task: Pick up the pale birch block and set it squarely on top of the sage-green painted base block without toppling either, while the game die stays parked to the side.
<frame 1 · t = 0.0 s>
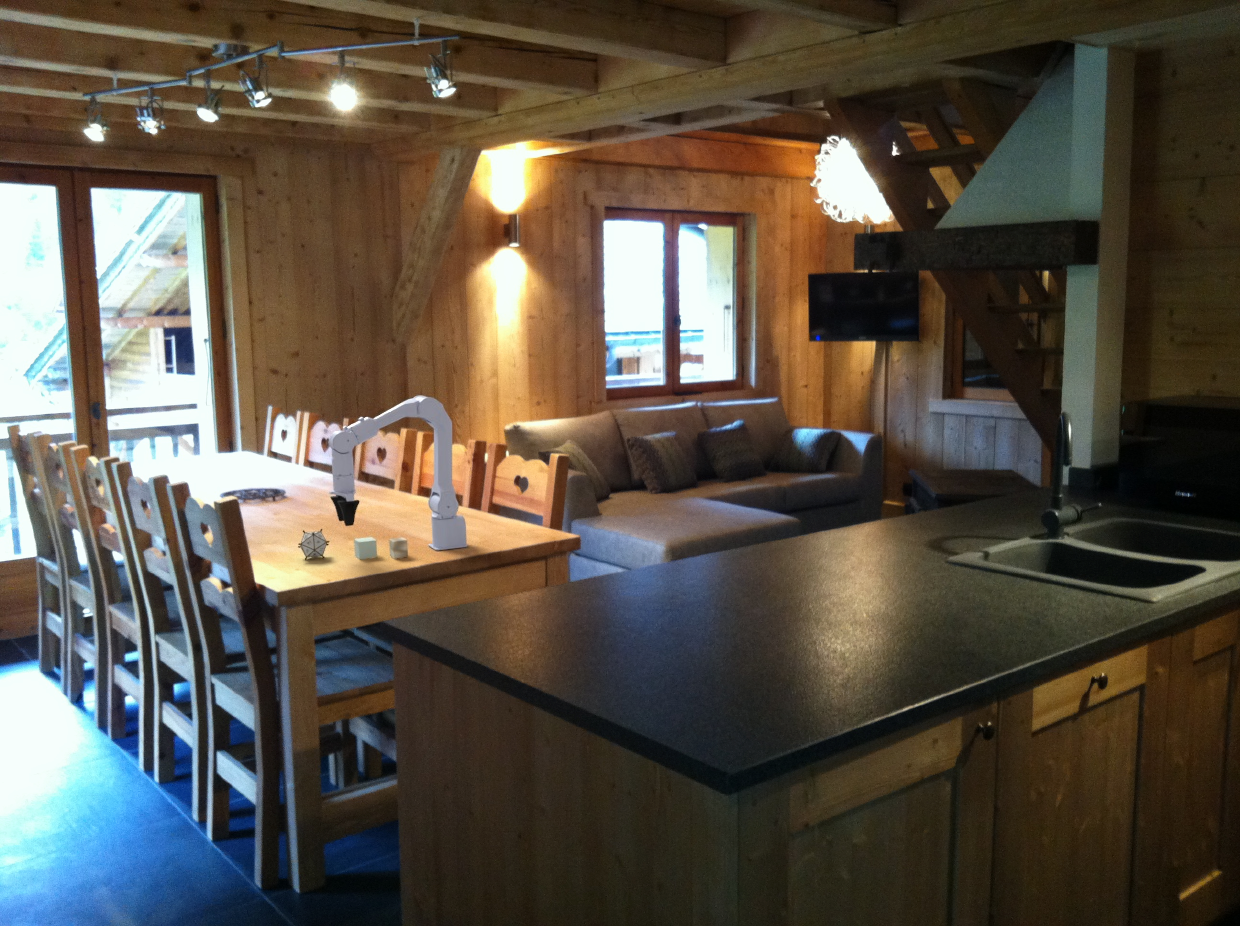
hand: (346, 523, 300), 10 cm above the table, tool pointing down, fingers open, 7 cm apart
base block: (366, 557, 303), on the table
game die: (314, 558, 303), on the table
birch block: (399, 557, 302), on the table
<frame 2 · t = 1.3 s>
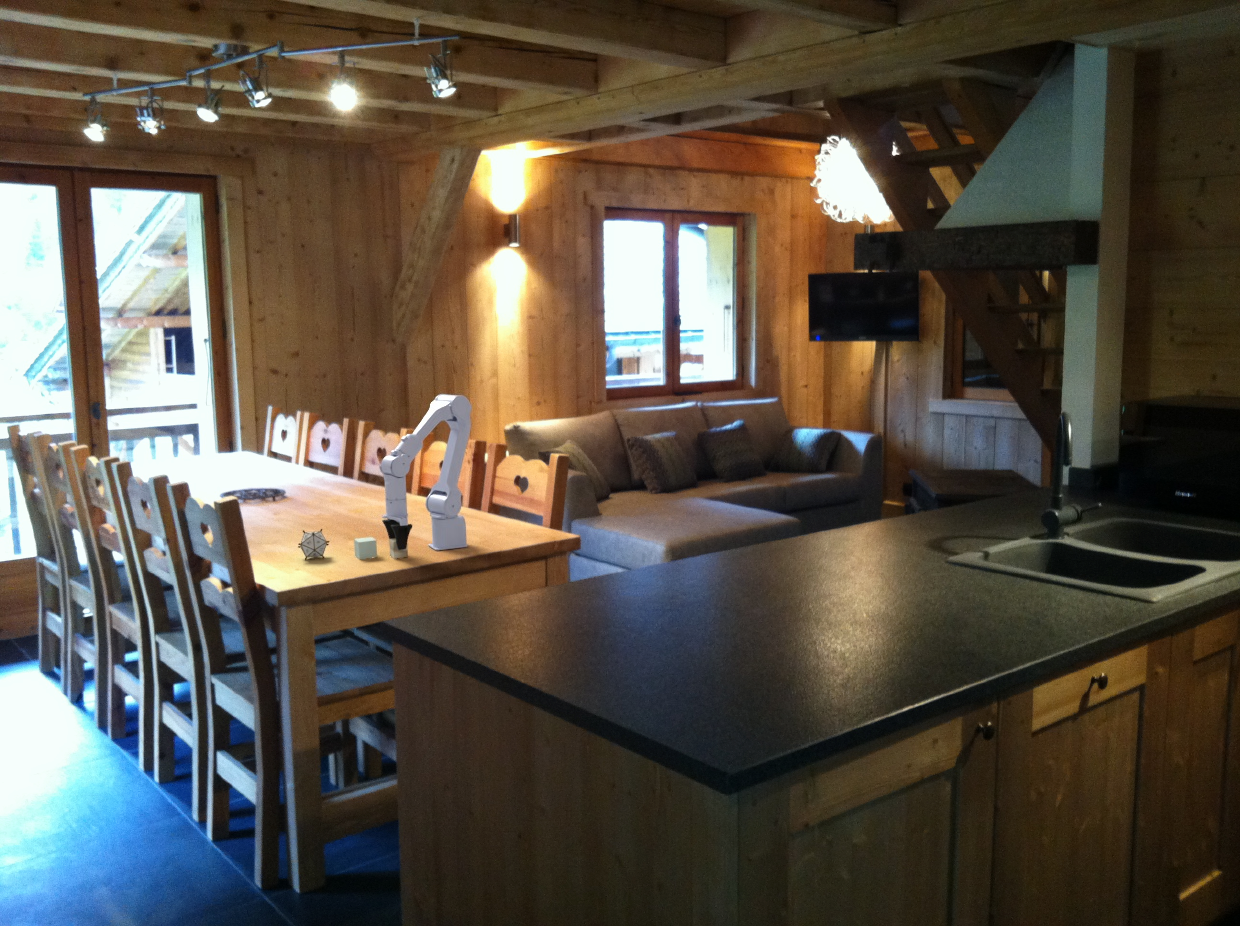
hand: (398, 546, 302), 3 cm above the table, tool pointing down, fingers open, 7 cm apart
nothing on the table moved.
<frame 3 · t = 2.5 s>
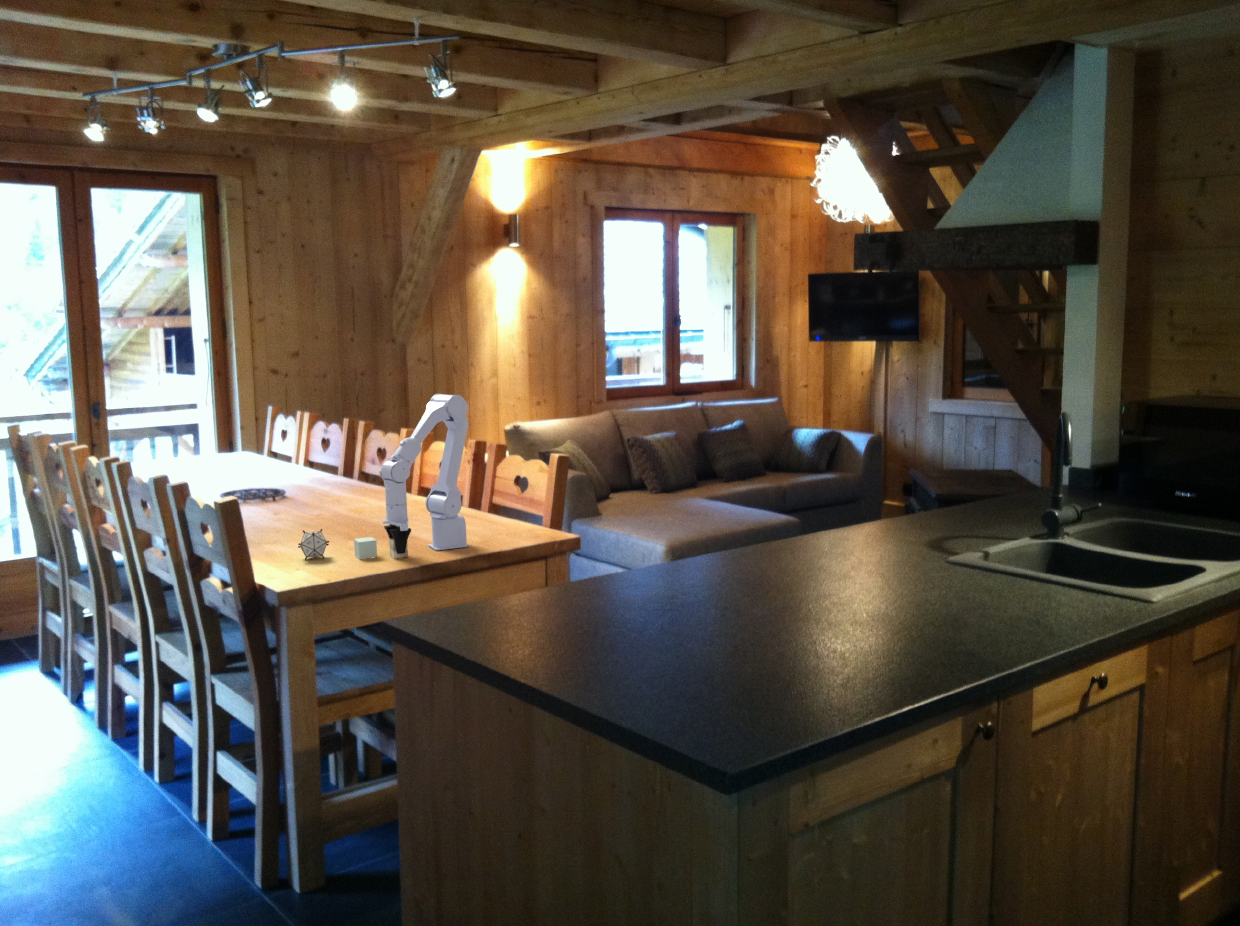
hand: (398, 551, 302), 1 cm above the table, tool pointing down, fingers closed on birch block, 4 cm apart
birch block: (399, 556, 302), on the table, touching gripper
everything else where it was.
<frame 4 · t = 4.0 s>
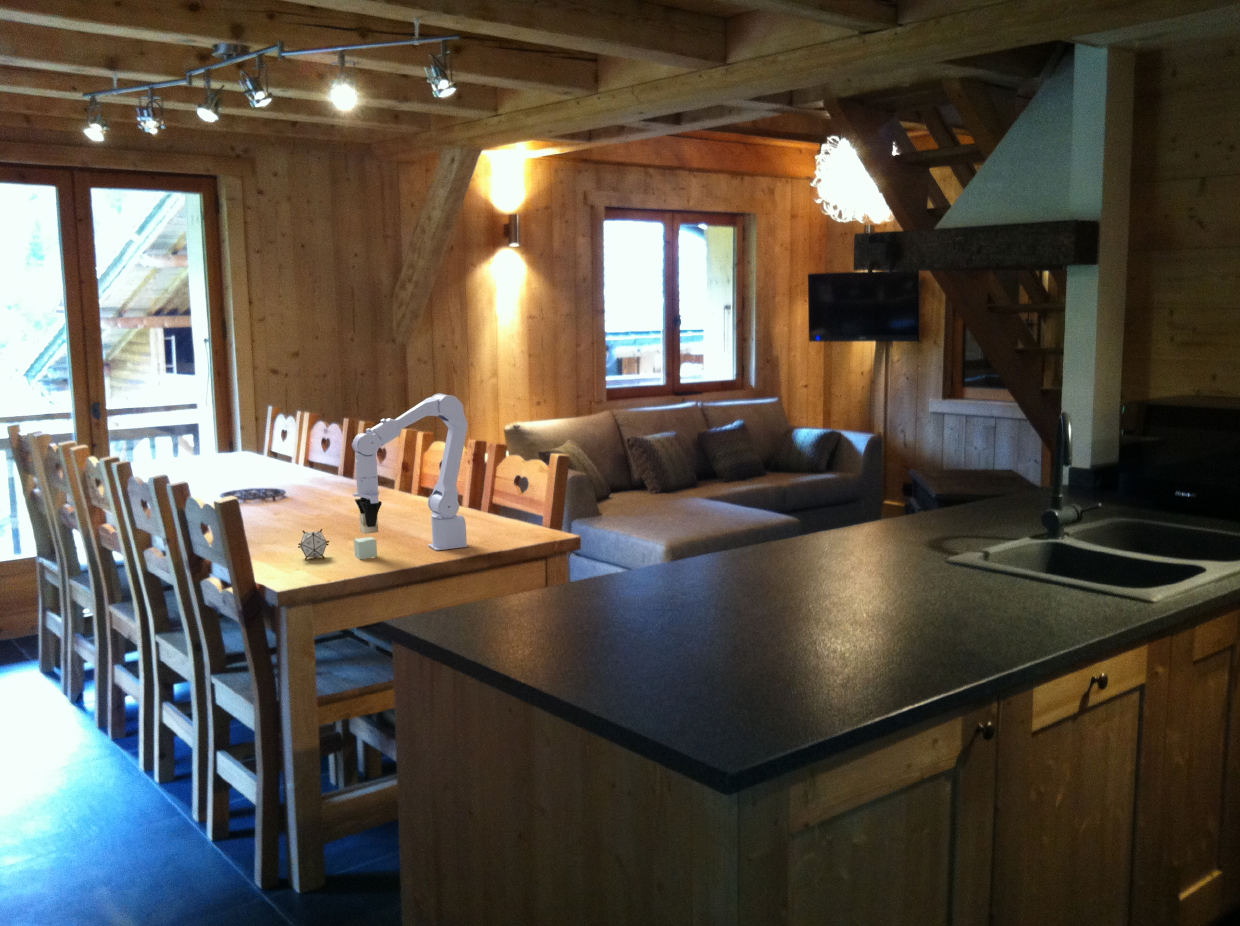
hand: (369, 525, 302), 9 cm above the table, tool pointing down, fingers closed on birch block, 4 cm apart
birch block: (369, 531, 302), point 7 cm above the table, touching gripper
everything else where it was.
when the fingers open (7 cm above the table, at t = 5.3 s): birch block stays where it is, resting on base block.
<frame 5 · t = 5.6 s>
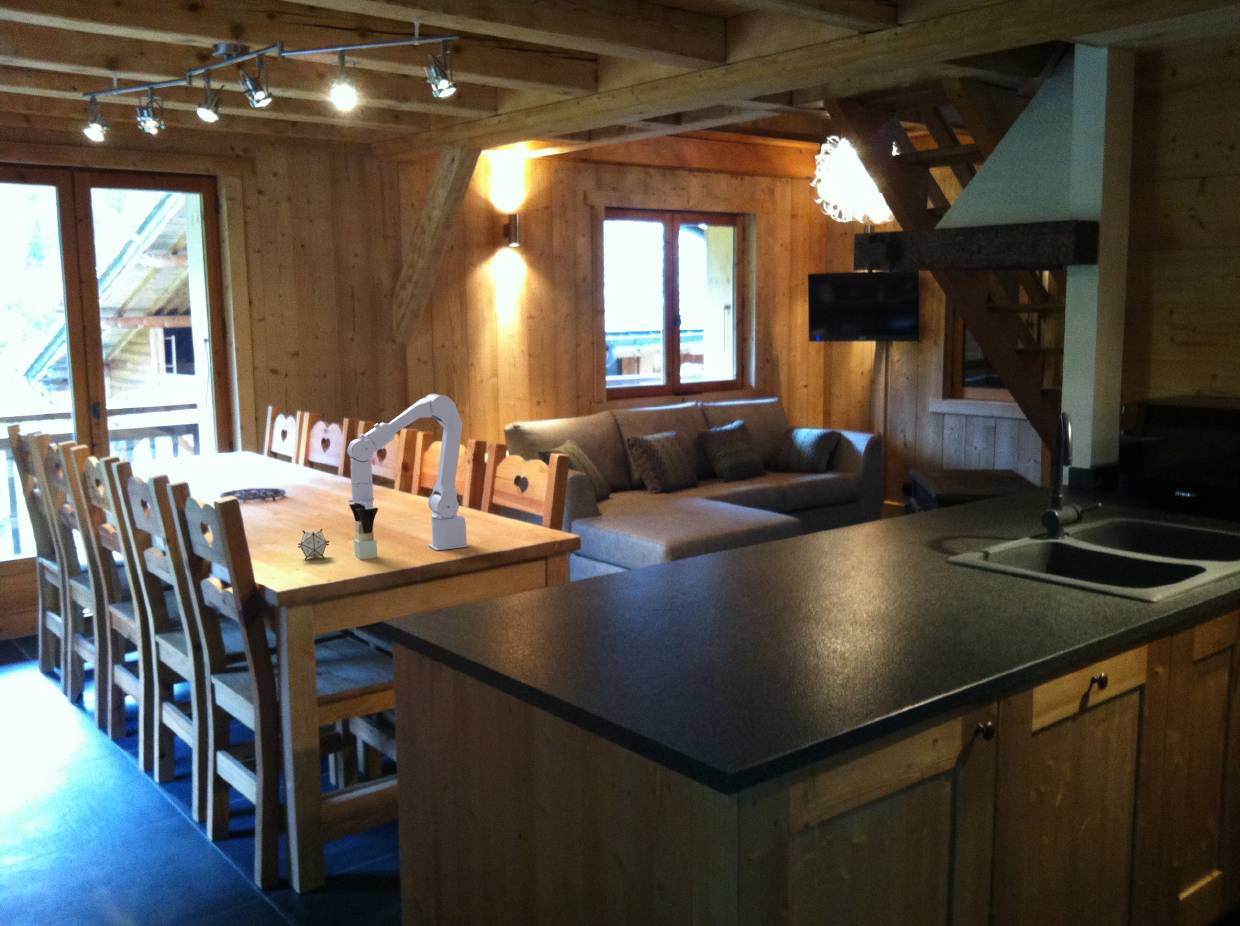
hand: (364, 530, 302), 7 cm above the table, tool pointing down, fingers open, 7 cm apart
base block: (366, 557, 303), on the table, touching birch block
birch block: (364, 539, 303), point 5 cm above the table, touching base block
everything else where it was.
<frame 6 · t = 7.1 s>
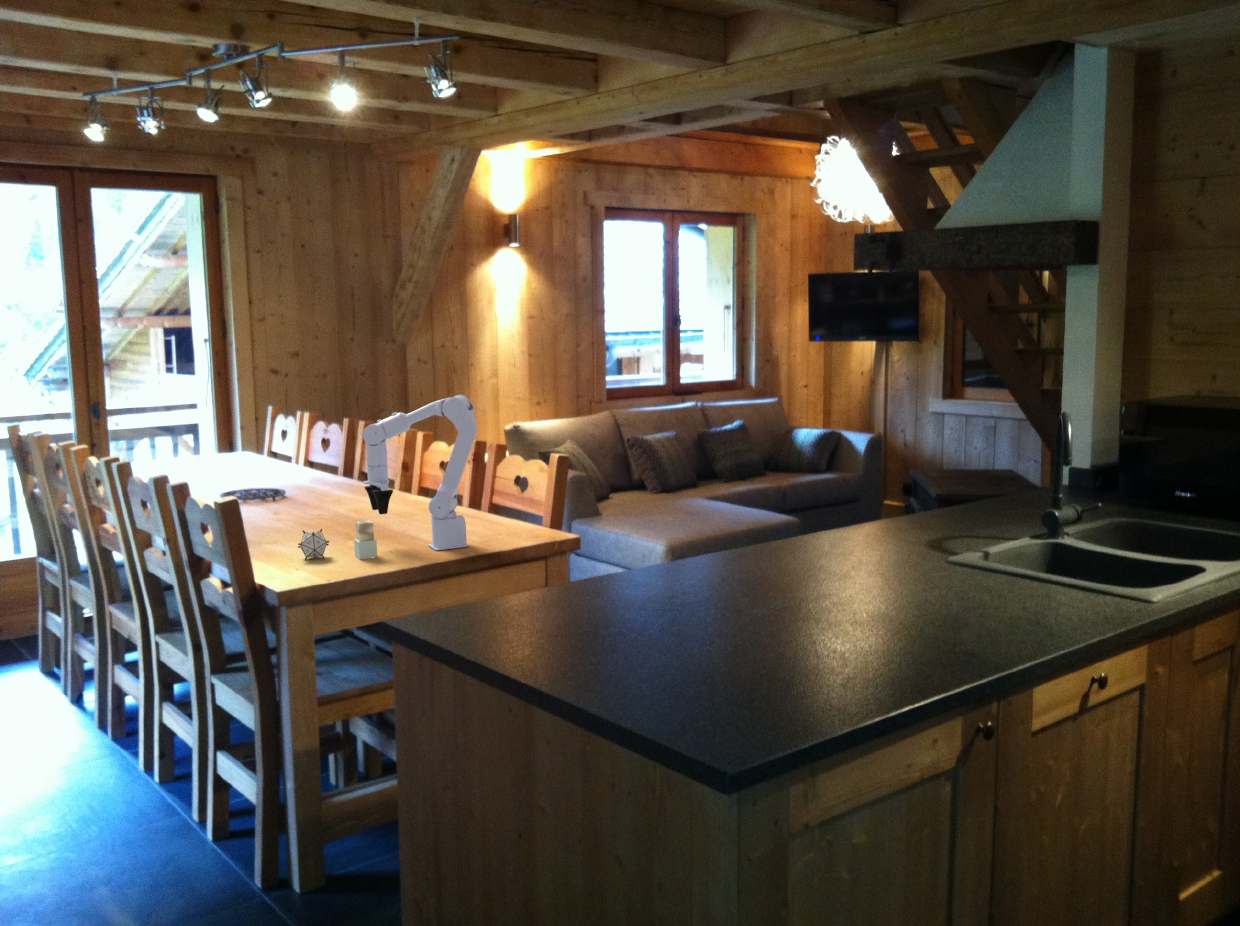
hand: (379, 511, 314), 10 cm above the table, tool pointing down, fingers open, 7 cm apart
nothing on the table moved.
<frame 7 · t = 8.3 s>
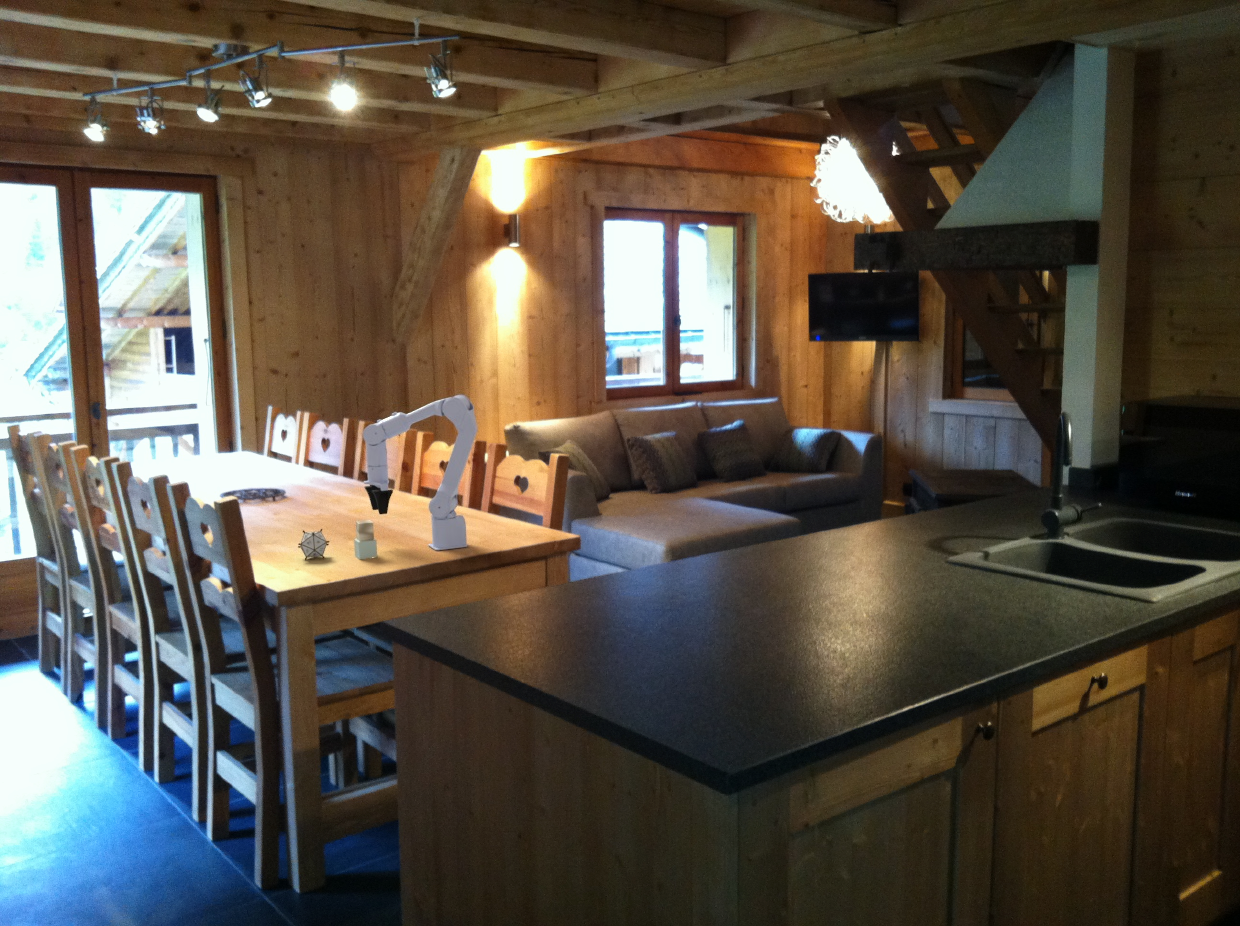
hand: (379, 511, 314), 10 cm above the table, tool pointing down, fingers open, 7 cm apart
nothing on the table moved.
at the end: birch block 0.1 cm off-centre on the base block, point 5.0 cm above the base block's base; birch block tilted 0°; base block tilted 0° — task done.
